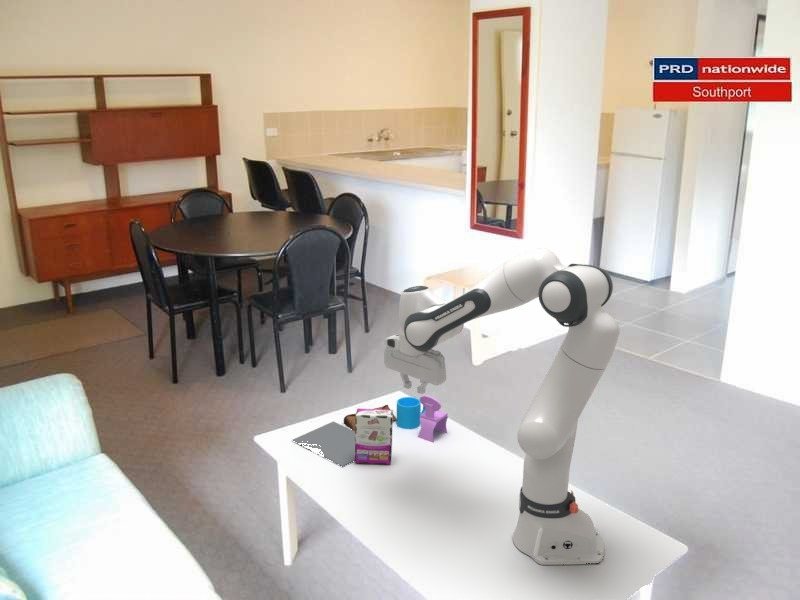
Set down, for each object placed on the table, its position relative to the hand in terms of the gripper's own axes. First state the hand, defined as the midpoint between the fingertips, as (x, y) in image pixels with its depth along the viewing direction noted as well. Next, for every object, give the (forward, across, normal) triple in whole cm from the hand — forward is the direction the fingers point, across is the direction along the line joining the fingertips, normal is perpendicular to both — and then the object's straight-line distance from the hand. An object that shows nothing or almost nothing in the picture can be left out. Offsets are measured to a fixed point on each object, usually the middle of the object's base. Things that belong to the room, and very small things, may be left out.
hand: (414, 390), depth 196 cm
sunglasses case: (+30, +36, -19) cm, 50 cm away
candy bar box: (+29, +17, -1) cm, 34 cm away
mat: (+29, +33, -1) cm, 44 cm away
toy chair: (+29, +15, -26) cm, 42 cm away
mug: (+29, +26, -29) cm, 48 cm away
